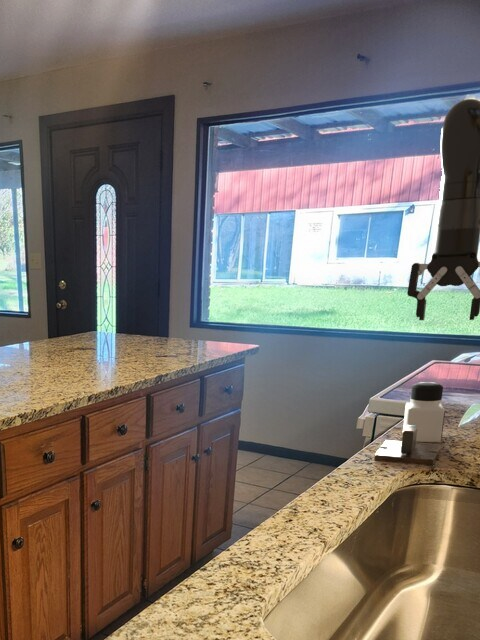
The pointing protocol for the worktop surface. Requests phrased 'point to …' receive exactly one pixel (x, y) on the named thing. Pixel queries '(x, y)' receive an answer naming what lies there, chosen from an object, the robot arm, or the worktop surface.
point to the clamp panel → (419, 455)
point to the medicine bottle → (426, 411)
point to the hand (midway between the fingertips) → (446, 319)
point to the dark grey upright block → (409, 439)
